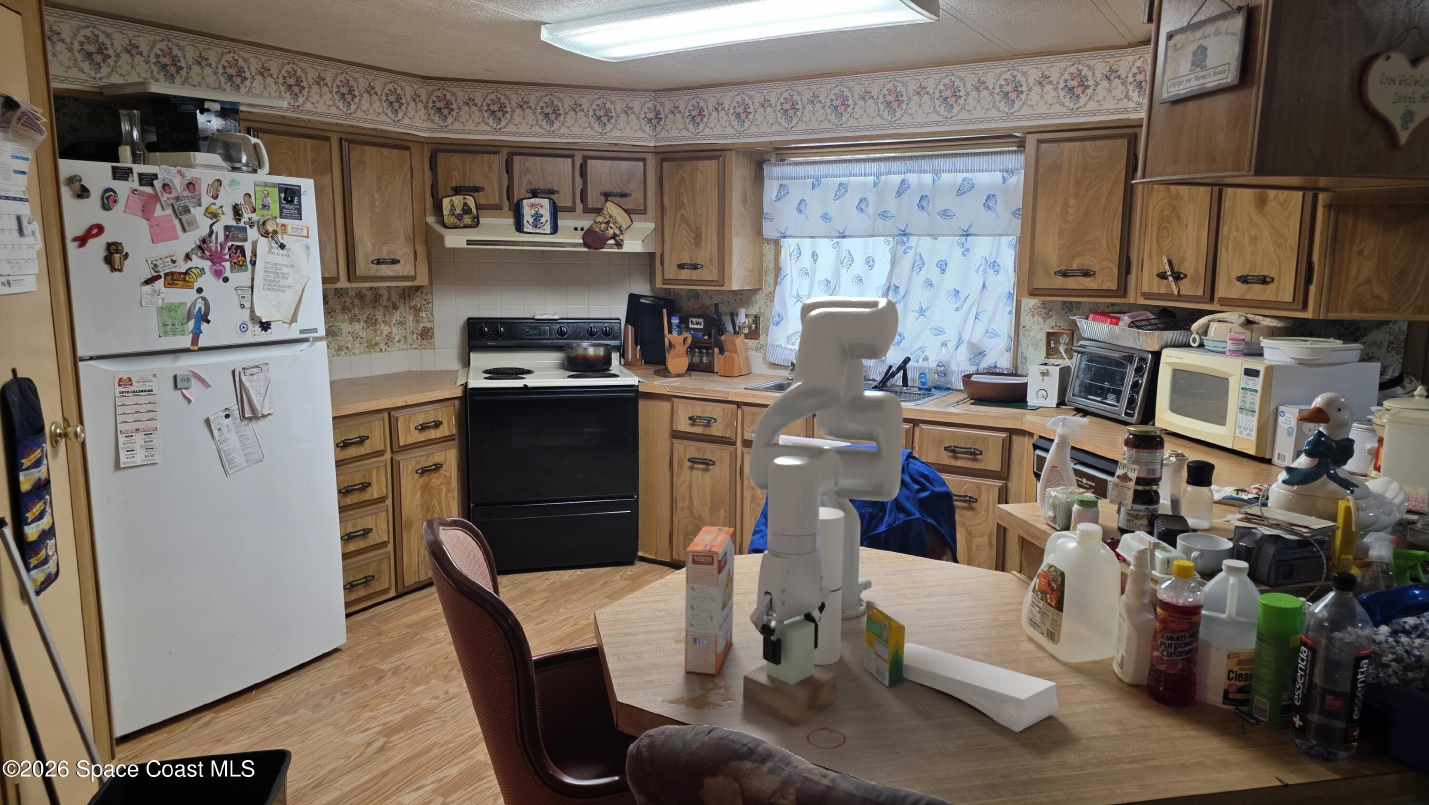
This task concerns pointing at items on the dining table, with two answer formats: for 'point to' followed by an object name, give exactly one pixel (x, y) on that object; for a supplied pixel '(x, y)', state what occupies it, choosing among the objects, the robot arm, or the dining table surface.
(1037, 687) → the white arched block
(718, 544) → the cracker box
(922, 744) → the dining table surface
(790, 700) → the walnut block
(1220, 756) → the dining table surface
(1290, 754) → the dining table surface
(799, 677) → the sage block
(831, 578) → the cylindrical container
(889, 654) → the crayon box
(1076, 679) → the dining table surface
